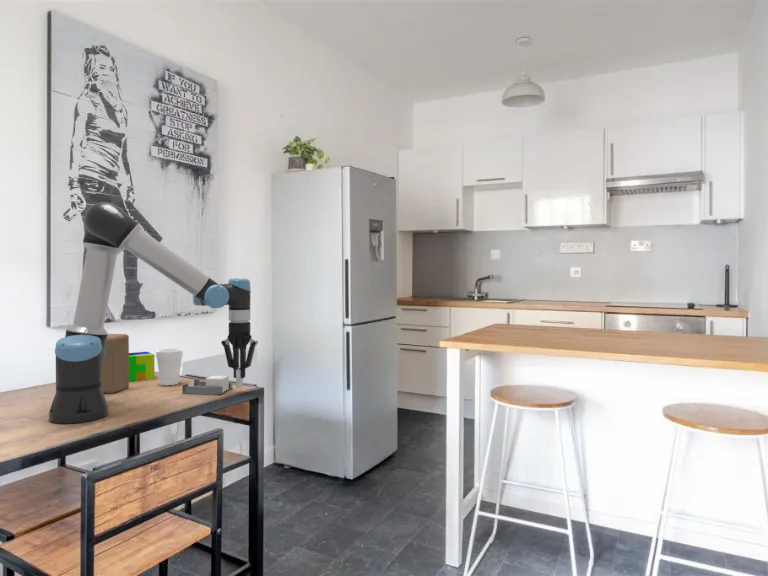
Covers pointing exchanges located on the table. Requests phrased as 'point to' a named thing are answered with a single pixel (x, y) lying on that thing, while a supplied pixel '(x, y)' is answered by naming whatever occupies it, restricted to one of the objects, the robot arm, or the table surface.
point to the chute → (202, 388)
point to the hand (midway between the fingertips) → (239, 387)
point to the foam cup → (169, 365)
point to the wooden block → (115, 364)
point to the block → (218, 382)
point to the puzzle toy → (141, 366)
